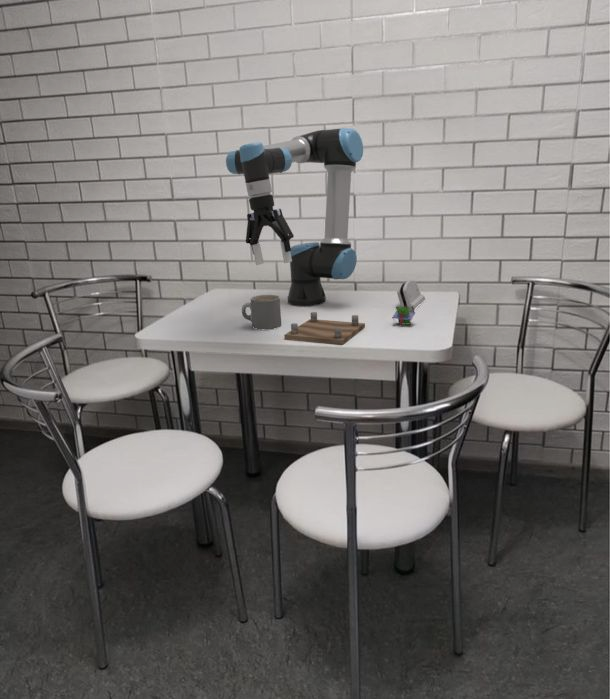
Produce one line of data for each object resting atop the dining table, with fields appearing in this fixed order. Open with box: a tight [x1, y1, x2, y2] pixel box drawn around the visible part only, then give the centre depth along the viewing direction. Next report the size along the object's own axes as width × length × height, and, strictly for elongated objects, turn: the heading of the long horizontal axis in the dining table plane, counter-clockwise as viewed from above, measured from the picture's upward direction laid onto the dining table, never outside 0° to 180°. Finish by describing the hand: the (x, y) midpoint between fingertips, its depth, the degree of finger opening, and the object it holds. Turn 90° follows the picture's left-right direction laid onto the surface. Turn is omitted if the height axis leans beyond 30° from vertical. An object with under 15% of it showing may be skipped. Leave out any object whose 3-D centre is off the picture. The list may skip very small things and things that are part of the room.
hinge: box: [396, 280, 426, 310], centre depth 228 cm, size 17×5×10 cm, turn 156°
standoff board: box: [284, 311, 366, 346], centre depth 197 cm, size 20×20×4 cm
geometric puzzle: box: [391, 305, 416, 326], centre depth 202 cm, size 7×7×8 cm
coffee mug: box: [241, 294, 282, 330], centre depth 209 cm, size 13×10×10 cm
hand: (273, 263), depth 192 cm, fingers open, 13 cm apart
